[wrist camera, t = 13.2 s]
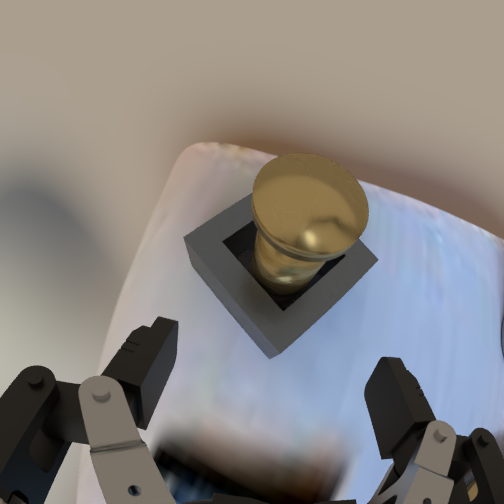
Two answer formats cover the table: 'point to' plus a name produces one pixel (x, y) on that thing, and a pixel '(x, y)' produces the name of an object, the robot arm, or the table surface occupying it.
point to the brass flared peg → (302, 221)
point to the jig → (252, 294)
